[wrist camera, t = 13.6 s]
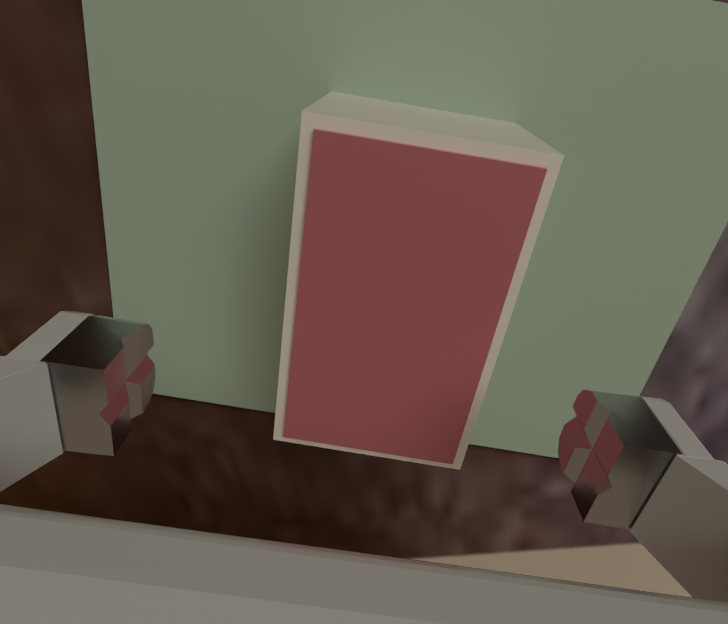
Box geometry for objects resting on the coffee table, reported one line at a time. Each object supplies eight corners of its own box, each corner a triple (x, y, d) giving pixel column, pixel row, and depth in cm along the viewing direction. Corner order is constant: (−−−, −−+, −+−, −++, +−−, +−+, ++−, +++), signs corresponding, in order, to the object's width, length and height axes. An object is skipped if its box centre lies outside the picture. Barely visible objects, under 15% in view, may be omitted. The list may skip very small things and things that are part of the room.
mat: (128, 379, 21) (120, 388, 20) (83, -104, 13) (70, -110, 13) (598, 454, 21) (603, 465, 21) (813, 21, 14) (829, 20, 13)
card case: (331, 91, 15) (300, 111, 10) (515, 122, 15) (566, 157, 10) (302, 348, 19) (271, 443, 14) (446, 371, 19) (460, 473, 15)
